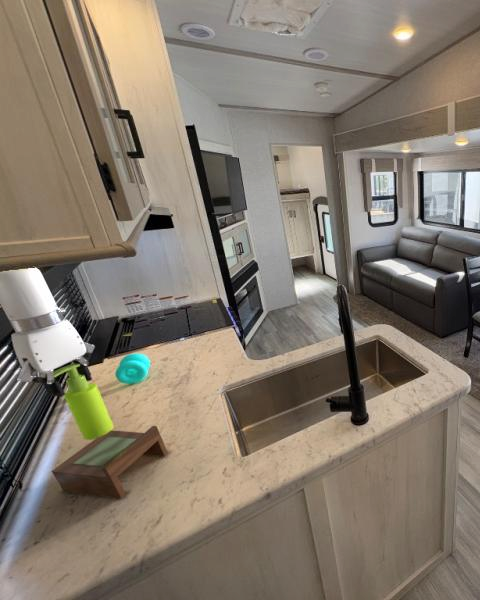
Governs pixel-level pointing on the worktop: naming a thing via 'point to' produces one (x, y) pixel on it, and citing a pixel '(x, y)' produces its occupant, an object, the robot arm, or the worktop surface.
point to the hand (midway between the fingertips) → (72, 386)
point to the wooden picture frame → (107, 462)
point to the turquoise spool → (132, 368)
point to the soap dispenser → (86, 404)
